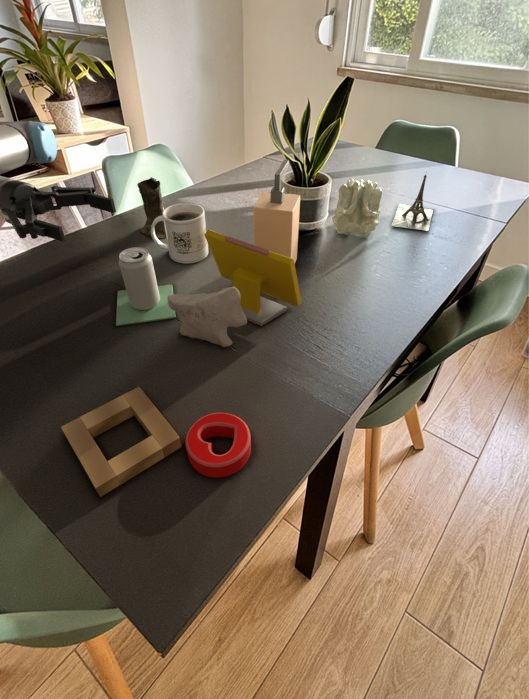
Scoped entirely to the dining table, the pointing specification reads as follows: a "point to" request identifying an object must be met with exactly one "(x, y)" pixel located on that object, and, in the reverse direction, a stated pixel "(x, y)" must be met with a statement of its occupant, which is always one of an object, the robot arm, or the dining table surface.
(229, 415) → the decorative ornament
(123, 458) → the can stand
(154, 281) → the beverage can
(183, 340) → the dining table surface
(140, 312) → the mat
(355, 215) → the wavy plaster lump
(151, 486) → the dining table surface
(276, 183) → the soap dispenser
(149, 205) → the tree stump
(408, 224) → the eiffel tower figurine
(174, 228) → the mug
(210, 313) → the sculpture
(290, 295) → the yellow framed monitor
